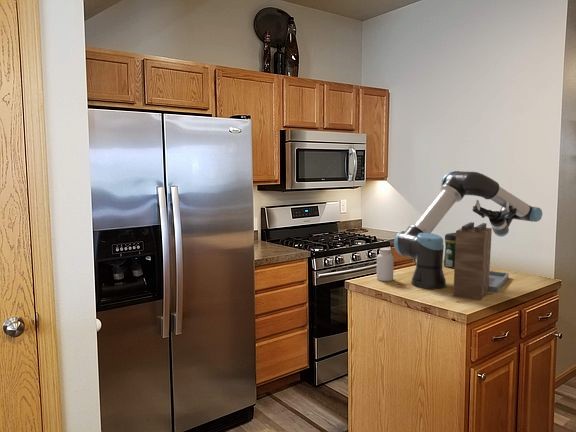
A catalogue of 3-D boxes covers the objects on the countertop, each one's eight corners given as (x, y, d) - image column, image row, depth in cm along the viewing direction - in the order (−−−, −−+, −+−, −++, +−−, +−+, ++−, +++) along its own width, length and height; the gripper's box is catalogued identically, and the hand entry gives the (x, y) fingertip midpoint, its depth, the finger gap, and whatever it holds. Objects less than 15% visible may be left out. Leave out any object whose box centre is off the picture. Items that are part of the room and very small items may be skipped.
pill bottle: (382, 276, 227) (382, 246, 225) (396, 279, 222) (397, 248, 220) (373, 279, 222) (373, 248, 220) (387, 282, 216) (388, 251, 214)
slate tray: (469, 272, 235) (470, 268, 235) (508, 277, 225) (508, 273, 225) (454, 286, 209) (454, 281, 209) (497, 292, 200) (497, 287, 199)
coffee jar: (452, 264, 255) (453, 231, 253) (464, 266, 248) (466, 233, 246) (440, 266, 250) (442, 232, 248) (453, 269, 243) (454, 234, 241)
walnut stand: (462, 287, 207) (465, 221, 204) (488, 291, 201) (492, 223, 198) (453, 296, 194) (456, 225, 190) (480, 300, 188) (484, 228, 184)
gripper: (523, 228, 232) (519, 211, 215) (471, 225, 246) (464, 208, 229) (525, 215, 234) (521, 197, 218) (473, 212, 248) (466, 195, 231)
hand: (491, 203), depth 223 cm, fingers open, 13 cm apart
